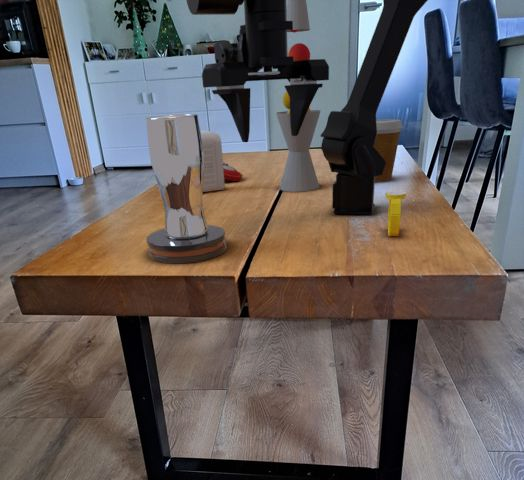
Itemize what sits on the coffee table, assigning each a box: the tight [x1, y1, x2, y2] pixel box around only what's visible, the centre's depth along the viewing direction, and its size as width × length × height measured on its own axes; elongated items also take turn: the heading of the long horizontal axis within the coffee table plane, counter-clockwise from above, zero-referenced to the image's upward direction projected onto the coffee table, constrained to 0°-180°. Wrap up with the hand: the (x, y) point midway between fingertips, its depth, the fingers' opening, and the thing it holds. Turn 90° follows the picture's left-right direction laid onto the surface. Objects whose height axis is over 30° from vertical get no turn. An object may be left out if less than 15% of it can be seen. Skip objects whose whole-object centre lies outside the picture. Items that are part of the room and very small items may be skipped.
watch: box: [385, 189, 407, 237], centre depth 70 cm, size 6×3×6 cm, turn 170°
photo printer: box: [200, 130, 226, 193], centre depth 106 cm, size 10×4×12 cm, turn 117°
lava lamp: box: [275, 0, 321, 193], centre depth 98 cm, size 9×9×35 cm
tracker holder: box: [223, 161, 243, 182], centre depth 120 cm, size 12×4×10 cm
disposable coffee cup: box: [374, 118, 404, 183], centre depth 107 cm, size 10×10×12 cm
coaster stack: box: [146, 224, 227, 264], centre depth 69 cm, size 11×11×2 cm
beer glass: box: [145, 113, 208, 239], centre depth 65 cm, size 7×7×15 cm
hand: (270, 138), depth 74 cm, fingers open, 9 cm apart
